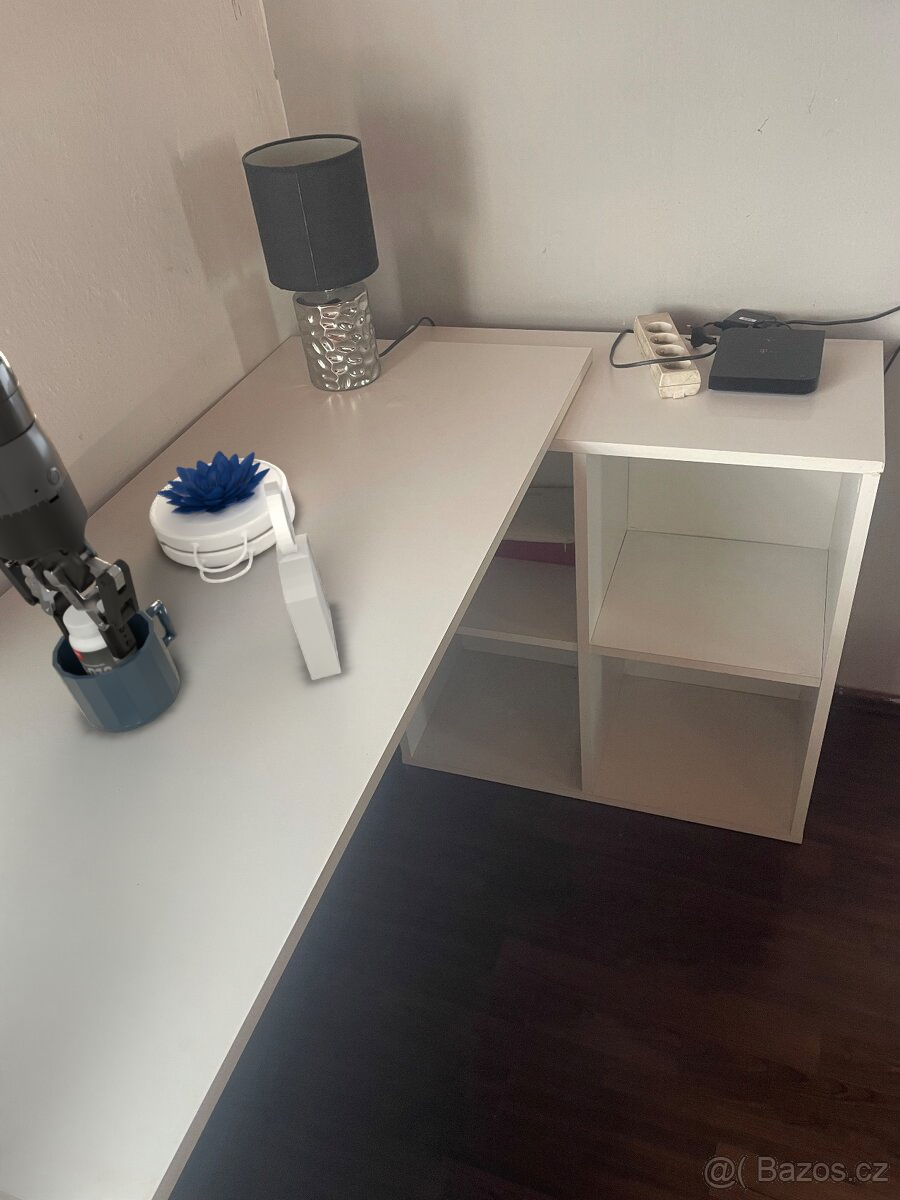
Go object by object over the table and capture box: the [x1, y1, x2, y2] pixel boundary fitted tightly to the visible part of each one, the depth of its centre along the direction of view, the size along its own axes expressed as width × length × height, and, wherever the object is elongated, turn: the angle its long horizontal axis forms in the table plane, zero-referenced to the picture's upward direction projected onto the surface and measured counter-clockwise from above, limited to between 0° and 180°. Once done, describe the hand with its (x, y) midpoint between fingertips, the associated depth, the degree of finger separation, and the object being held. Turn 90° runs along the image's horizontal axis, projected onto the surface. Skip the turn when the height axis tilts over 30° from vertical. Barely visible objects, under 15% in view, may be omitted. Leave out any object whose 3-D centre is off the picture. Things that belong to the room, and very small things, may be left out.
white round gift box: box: [149, 450, 296, 584], centre depth 96 cm, size 7×16×20 cm
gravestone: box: [264, 481, 342, 681], centre depth 77 cm, size 3×9×18 cm, turn 12°
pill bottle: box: [63, 600, 139, 675], centre depth 76 cm, size 5×5×8 cm
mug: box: [51, 599, 181, 733], centre depth 79 cm, size 12×9×7 cm
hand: (103, 645), depth 76 cm, fingers closed on pill bottle, 4 cm apart
